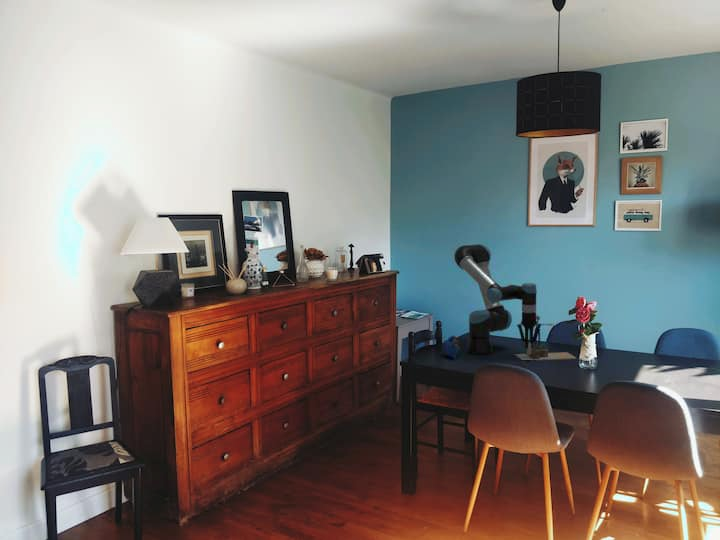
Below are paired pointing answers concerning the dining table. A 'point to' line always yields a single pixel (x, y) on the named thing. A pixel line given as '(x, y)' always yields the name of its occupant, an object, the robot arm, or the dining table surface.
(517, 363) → the dining table surface
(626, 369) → the dining table surface
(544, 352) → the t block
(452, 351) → the toy
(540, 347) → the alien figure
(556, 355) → the mat
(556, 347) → the dining table surface
